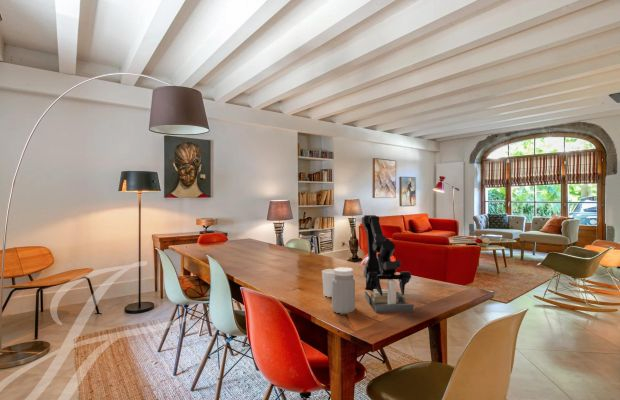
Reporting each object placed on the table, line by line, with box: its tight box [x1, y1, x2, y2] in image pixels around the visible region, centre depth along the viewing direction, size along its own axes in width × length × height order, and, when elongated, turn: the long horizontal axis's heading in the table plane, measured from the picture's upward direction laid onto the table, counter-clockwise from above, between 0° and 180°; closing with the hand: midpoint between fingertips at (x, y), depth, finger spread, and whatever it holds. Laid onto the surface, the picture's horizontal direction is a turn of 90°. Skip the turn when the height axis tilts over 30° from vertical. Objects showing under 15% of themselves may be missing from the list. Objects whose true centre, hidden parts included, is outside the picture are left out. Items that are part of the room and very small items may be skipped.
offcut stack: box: [370, 288, 398, 303], centre depth 151 cm, size 7×11×4 cm, turn 93°
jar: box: [331, 266, 356, 315], centre depth 140 cm, size 10×10×18 cm
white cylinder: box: [321, 268, 335, 298], centre depth 162 cm, size 10×10×12 cm
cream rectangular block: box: [387, 279, 397, 304], centre depth 140 cm, size 4×2×12 cm, turn 3°
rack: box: [364, 291, 415, 314], centre depth 146 cm, size 20×16×4 cm
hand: (392, 295), depth 139 cm, fingers open, 9 cm apart
